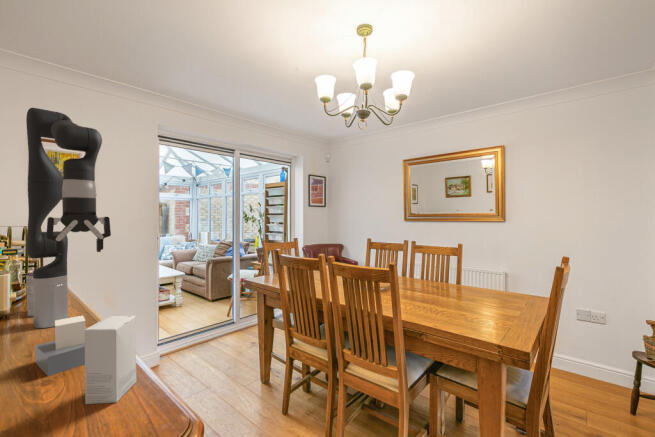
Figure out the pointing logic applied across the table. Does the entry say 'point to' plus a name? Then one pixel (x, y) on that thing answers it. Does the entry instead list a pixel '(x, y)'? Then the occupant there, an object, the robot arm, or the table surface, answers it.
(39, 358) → the slate block
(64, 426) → the table surface
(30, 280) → the candy bar box
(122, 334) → the skincare box
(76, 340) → the cream block
